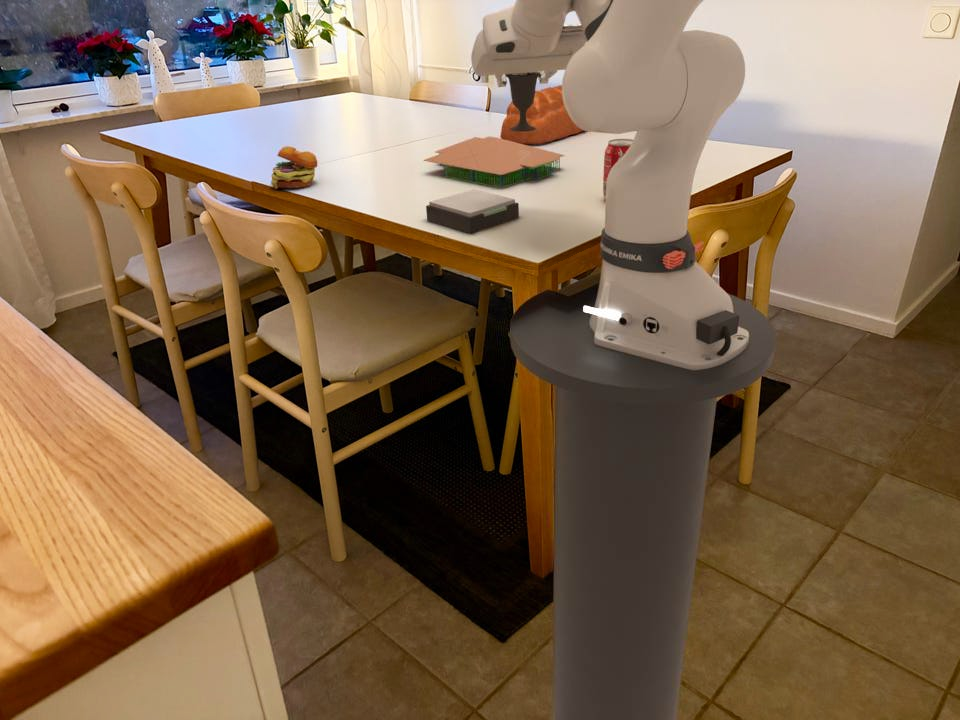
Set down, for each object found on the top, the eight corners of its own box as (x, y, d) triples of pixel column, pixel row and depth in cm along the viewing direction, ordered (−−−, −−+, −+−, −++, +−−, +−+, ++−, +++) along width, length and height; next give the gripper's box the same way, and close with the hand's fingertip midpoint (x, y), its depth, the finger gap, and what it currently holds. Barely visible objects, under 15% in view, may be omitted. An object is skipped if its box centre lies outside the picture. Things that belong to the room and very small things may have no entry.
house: (510, 191, 164) (510, 153, 160) (412, 171, 185) (409, 137, 181) (573, 170, 179) (574, 135, 175) (475, 153, 199) (474, 122, 195)
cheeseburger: (263, 184, 178) (265, 142, 175) (304, 187, 184) (307, 146, 181) (279, 192, 170) (282, 147, 167) (322, 194, 177) (325, 152, 173)
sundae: (547, 128, 141) (548, 43, 134) (524, 133, 137) (524, 46, 130) (522, 124, 146) (522, 42, 139) (498, 129, 141) (497, 45, 134)
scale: (519, 218, 146) (519, 199, 145) (471, 234, 139) (470, 214, 137) (474, 206, 155) (473, 188, 153) (426, 220, 147) (425, 201, 146)
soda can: (643, 198, 155) (647, 140, 149) (624, 206, 150) (627, 146, 145) (615, 193, 159) (617, 136, 154) (595, 201, 155) (597, 142, 149)
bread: (494, 141, 212) (493, 93, 206) (557, 123, 233) (557, 79, 227) (538, 147, 203) (538, 97, 197) (599, 127, 224) (601, 82, 218)
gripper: (589, 9, 128) (571, 64, 141) (474, 16, 124) (466, 72, 137) (598, 39, 126) (578, 92, 139) (481, 47, 122) (472, 100, 135)
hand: (521, 82), depth 138 cm, fingers closed on sundae, 7 cm apart
